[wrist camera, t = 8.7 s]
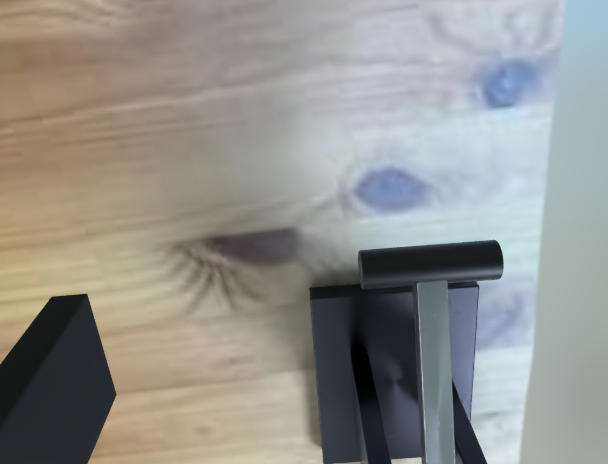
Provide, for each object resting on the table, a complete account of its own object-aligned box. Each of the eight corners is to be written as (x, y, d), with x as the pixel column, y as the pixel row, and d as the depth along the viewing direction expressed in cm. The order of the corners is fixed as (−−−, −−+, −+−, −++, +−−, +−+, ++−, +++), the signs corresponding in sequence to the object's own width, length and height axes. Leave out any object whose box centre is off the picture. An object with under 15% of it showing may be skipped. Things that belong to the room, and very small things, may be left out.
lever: (356, 245, 21) (362, 256, 19) (485, 235, 21) (508, 245, 19) (377, 576, 23) (386, 624, 21) (496, 568, 23) (519, 615, 21)
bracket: (309, 287, 30) (322, 502, 18) (472, 274, 30) (604, 482, 18) (322, 449, 35) (340, 709, 23) (462, 439, 35) (559, 694, 22)
